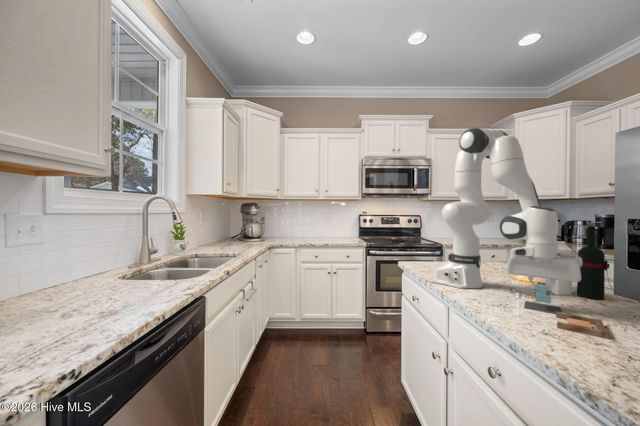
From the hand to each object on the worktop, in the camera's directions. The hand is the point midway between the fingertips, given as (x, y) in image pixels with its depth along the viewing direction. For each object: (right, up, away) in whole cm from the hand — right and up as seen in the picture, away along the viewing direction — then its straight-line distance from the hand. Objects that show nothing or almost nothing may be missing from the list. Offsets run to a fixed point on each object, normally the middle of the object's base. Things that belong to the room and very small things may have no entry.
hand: (541, 290), depth 95 cm
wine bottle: (+32, -7, +13) cm, 35 cm away
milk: (+23, -7, +19) cm, 30 cm away
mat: (0, -7, 0) cm, 7 cm away
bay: (-2, -7, -15) cm, 17 cm away
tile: (-2, -7, -15) cm, 17 cm away
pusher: (0, -3, 0) cm, 3 cm away
